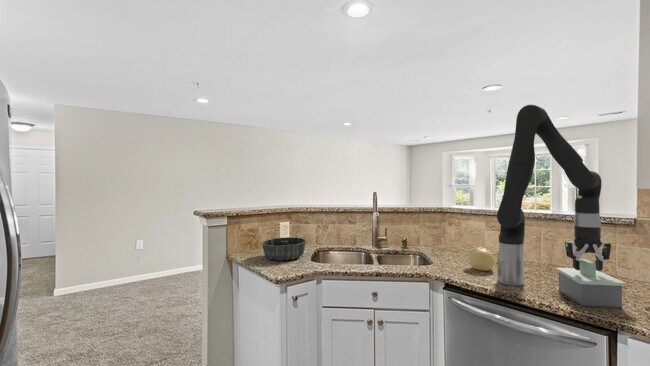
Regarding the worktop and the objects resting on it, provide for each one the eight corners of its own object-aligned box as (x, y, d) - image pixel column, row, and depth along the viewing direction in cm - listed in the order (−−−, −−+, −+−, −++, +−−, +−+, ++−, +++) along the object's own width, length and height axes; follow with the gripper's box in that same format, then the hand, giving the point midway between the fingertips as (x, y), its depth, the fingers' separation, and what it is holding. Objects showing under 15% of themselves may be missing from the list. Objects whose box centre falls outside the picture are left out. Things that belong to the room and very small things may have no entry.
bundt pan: (255, 263, 181) (255, 245, 181) (269, 252, 207) (269, 236, 207) (301, 263, 177) (301, 245, 177) (310, 252, 203) (309, 237, 203)
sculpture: (489, 266, 165) (489, 245, 165) (498, 273, 153) (498, 250, 153) (466, 265, 166) (465, 245, 166) (473, 272, 155) (472, 250, 154)
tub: (581, 306, 112) (581, 283, 112) (558, 290, 128) (558, 270, 128) (622, 308, 110) (621, 285, 110) (593, 292, 125) (593, 271, 125)
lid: (580, 285, 111) (580, 266, 111) (555, 271, 128) (555, 255, 128) (625, 287, 109) (625, 268, 109) (594, 273, 126) (594, 256, 126)
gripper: (570, 226, 116) (571, 272, 116) (616, 226, 113) (617, 274, 113) (559, 223, 124) (560, 266, 124) (603, 223, 121) (603, 268, 121)
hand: (587, 270), depth 119 cm, fingers open, 6 cm apart
